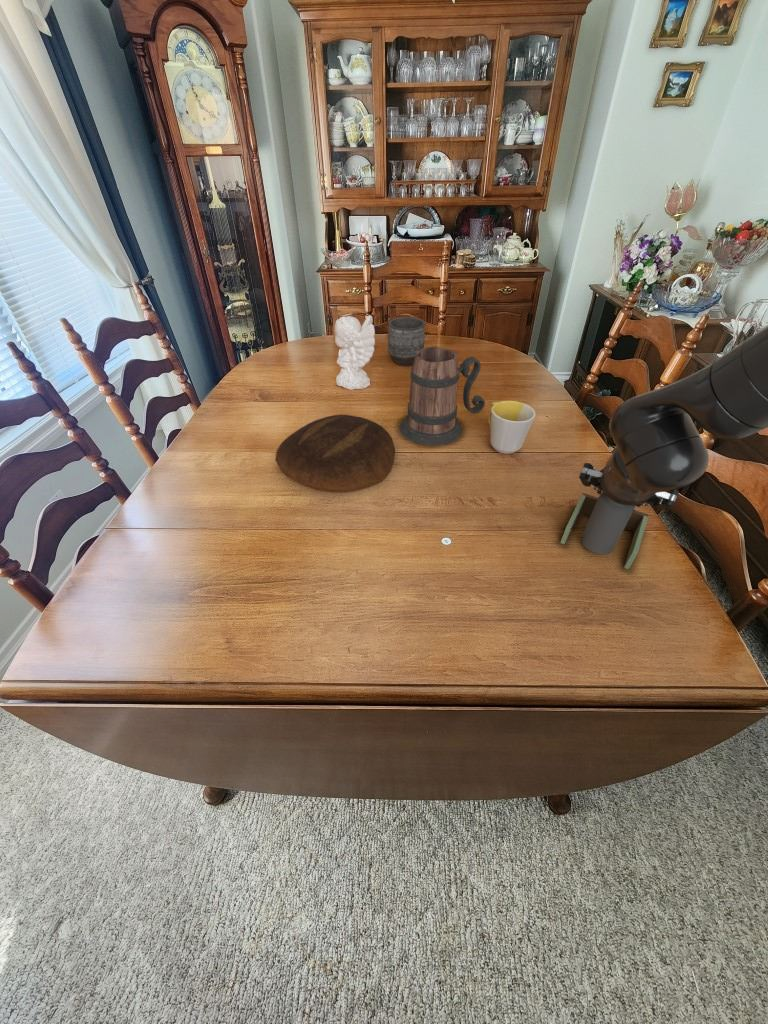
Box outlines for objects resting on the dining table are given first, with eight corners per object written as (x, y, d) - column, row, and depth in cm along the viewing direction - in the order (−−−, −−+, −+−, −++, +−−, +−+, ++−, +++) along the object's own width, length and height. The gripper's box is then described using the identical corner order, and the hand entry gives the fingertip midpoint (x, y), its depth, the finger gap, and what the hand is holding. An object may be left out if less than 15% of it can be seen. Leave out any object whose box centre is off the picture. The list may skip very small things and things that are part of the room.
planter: (430, 360, 148) (432, 321, 139) (408, 371, 141) (409, 332, 133) (403, 351, 154) (404, 314, 145) (380, 361, 147) (380, 323, 139)
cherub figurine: (336, 372, 141) (331, 308, 128) (374, 371, 142) (372, 307, 128) (335, 391, 131) (329, 323, 118) (376, 389, 132) (374, 322, 118)
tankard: (414, 450, 107) (417, 374, 93) (390, 418, 119) (390, 346, 105) (496, 433, 113) (510, 358, 99) (466, 404, 124) (475, 334, 111)
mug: (532, 457, 104) (543, 419, 97) (492, 461, 103) (499, 423, 96) (512, 428, 114) (520, 392, 107) (475, 431, 113) (481, 395, 106)
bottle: (618, 554, 79) (652, 491, 69) (587, 554, 79) (616, 491, 69) (607, 532, 83) (637, 469, 73) (576, 532, 83) (602, 469, 73)
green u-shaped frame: (639, 531, 85) (649, 514, 82) (628, 569, 78) (638, 553, 75) (576, 508, 90) (582, 492, 87) (560, 543, 83) (566, 526, 80)
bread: (417, 452, 106) (418, 421, 100) (351, 514, 90) (349, 481, 84) (328, 420, 118) (324, 391, 112) (255, 470, 101) (247, 438, 95)
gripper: (703, 465, 57) (673, 488, 72) (590, 434, 62) (585, 461, 78) (680, 518, 57) (655, 529, 72) (570, 482, 63) (569, 500, 78)
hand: (619, 494), depth 75 cm, fingers closed on bottle, 5 cm apart
